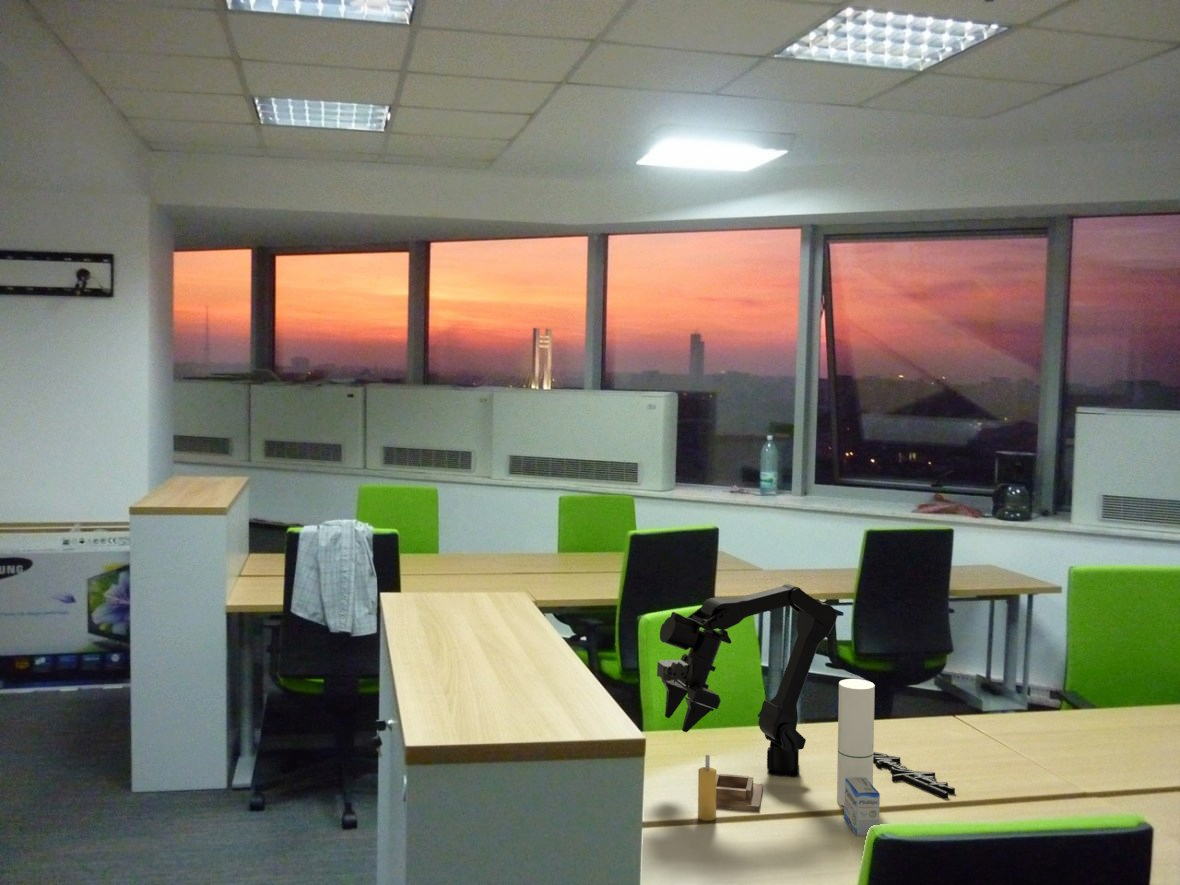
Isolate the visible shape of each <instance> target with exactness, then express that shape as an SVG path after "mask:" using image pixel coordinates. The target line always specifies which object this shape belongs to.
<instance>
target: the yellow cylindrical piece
mask: <svg viewBox="0 0 1180 885" xmlns="http://www.w3.org/2000/svg"><path fill="white" fill-rule="evenodd" d="M710 761H711V760H710V755H709V754H706V755H705V761H704V762H705V764H704V765H705V767H700V768H698V769H697V770H698V773H697V774H698V775H697V776H698V777H697V778H698V779H697V781H698V784H697V787H698V788H697V791H698V792H697V809H698V810H697V817H699V818H698V819H699V820H702V821H705V822H707V821H714V820H716V819H717V807H716V774H717V769H715V768H714V767H710Z"/></svg>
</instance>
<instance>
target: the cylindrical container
mask: <svg viewBox="0 0 1180 885" xmlns="http://www.w3.org/2000/svg"><path fill="white" fill-rule="evenodd" d="M875 686H876V685H875V684H874V683H873V682H871V681H869V680H865V679H860V678H859V679H858V678H847V679H846V678H845V679H841V680H840V681H839V682H838V712H837V713H838V714H837V715H838V716H837V718H838V719H837V720H838V722H837V768H836V769H837V777H836V778H837V782H836V783H837V784H836V786H837V787H836V802H838V803H839V804H841V805H843V806H844V803H845V778H851V777H863V778H866V779H867V780H868V781H869V782H870V783H871V784H872V786H873V787H874V762H873V752H874V748H875V747H874V741H875V740H874V739H875ZM838 803H837V804H838ZM839 804H838V805H839ZM841 805H840V806H841ZM843 806H842V807H843Z"/></svg>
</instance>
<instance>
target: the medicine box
mask: <svg viewBox="0 0 1180 885" xmlns="http://www.w3.org/2000/svg"><path fill="white" fill-rule="evenodd" d="M880 796H881V795H880V792H879V791H878V790H877V789H876V788H875V787H874V785H873V786H872V784H871V783H870V782H869V781H868V780H867V779H866V778H863V777H851V778H845V803H844V807H843V810H844V811H843V812H844V813H843V819H844V820H845V822H846V823H847V825H848V826H849V827H850V828H851V829H852V831H853V832H854V834H856V836H857V837H867V836H866V835H867V832H868V830H869V828H870V827H871V826H873V825H878V824H879V825H880V805H881V804H880V803H881V801H880V800H881V797H880Z"/></svg>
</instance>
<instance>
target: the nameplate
mask: <svg viewBox="0 0 1180 885" xmlns="http://www.w3.org/2000/svg"><path fill="white" fill-rule="evenodd" d="M873 765H875V767H876V768H877V769H879V770H880V769H883V768H885V769H886V770H889V771H890V774H892V775H891V782H892V783H893V782H894V783H896V782H899V781H902V782H905V783H907V784H910V785H912V786H914V787H917V788H919V789H921V790H924V791H925V792H928V793H930V794H932V795H933V796H934V795H935V796H937V797H938V798H939V797H940V798H941V799H944V800H946V799H947V800H948V799H949V795H955V794H956V788H955V787H953V786H949V783H948V782H947V781H945V782H943V781H942V782H941V781H940V782H939V781H937V779H936V772H934V771H914V770H912V769H909V768H908V767H907V766H906V765H901V757H899V756H895V755H894V756H893V755H888V754H886V753H882V752H877V751H873Z"/></svg>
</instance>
